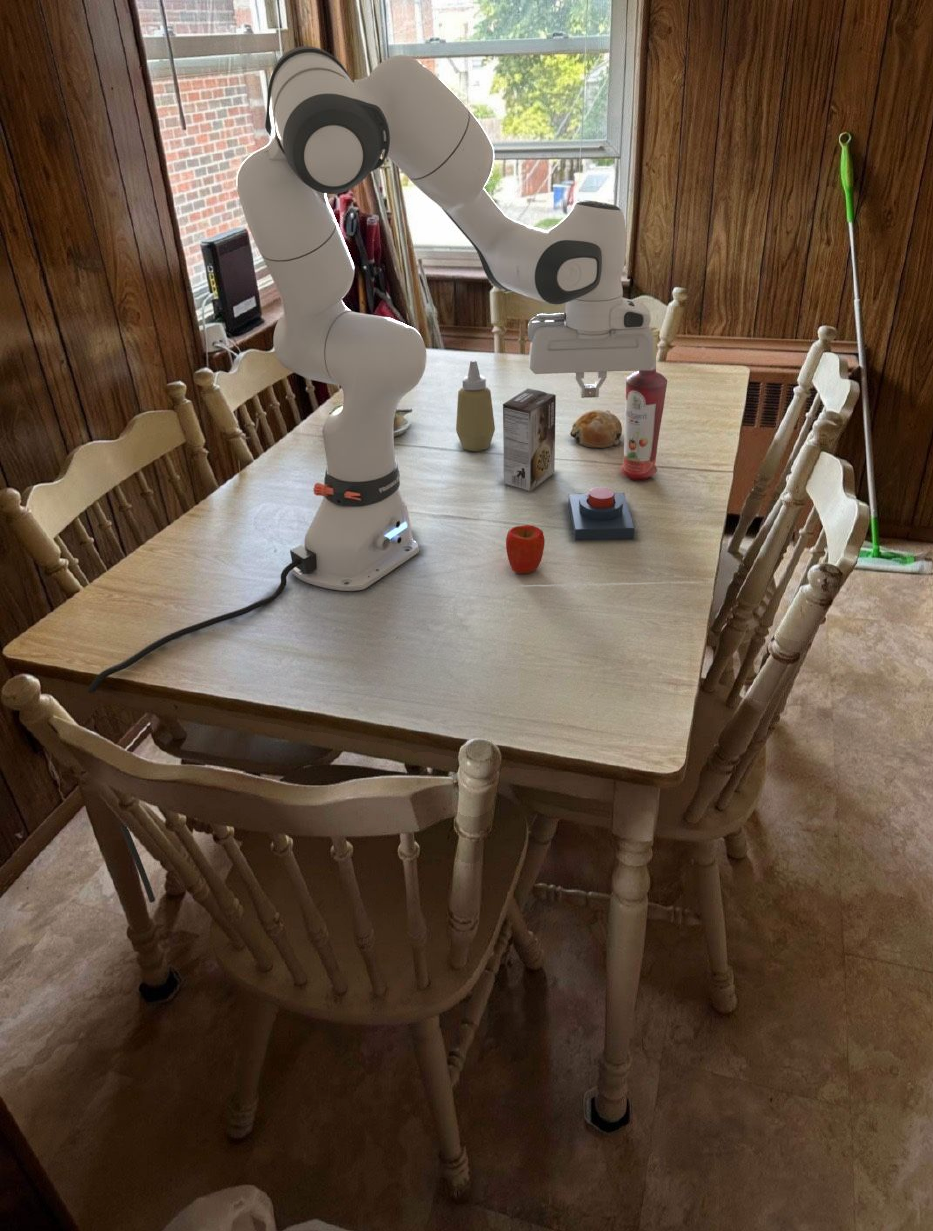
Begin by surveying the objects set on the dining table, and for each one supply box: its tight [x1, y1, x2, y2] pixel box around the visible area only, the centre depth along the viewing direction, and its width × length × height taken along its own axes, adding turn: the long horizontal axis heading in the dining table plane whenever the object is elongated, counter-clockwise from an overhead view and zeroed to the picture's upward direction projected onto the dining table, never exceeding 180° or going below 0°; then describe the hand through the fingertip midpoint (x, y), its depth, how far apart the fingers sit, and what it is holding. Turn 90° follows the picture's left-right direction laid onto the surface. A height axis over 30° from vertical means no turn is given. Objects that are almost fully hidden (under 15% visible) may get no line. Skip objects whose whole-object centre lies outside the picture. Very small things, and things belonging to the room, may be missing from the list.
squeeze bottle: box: [455, 359, 496, 452], centre depth 178 cm, size 8×8×18 cm
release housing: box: [568, 492, 636, 541], centre depth 154 cm, size 13×10×4 cm
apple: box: [505, 524, 546, 575], centre depth 141 cm, size 6×6×8 cm
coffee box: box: [502, 388, 557, 492], centre depth 165 cm, size 9×6×16 cm
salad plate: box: [328, 405, 413, 438], centre depth 191 cm, size 19×18×5 cm
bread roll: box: [570, 409, 623, 449], centre depth 182 cm, size 10×10×8 cm
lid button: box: [588, 486, 615, 508], centre depth 152 cm, size 4×4×2 cm
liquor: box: [620, 326, 668, 482], centre depth 161 cm, size 7×7×28 cm
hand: (589, 396), depth 147 cm, fingers closed
